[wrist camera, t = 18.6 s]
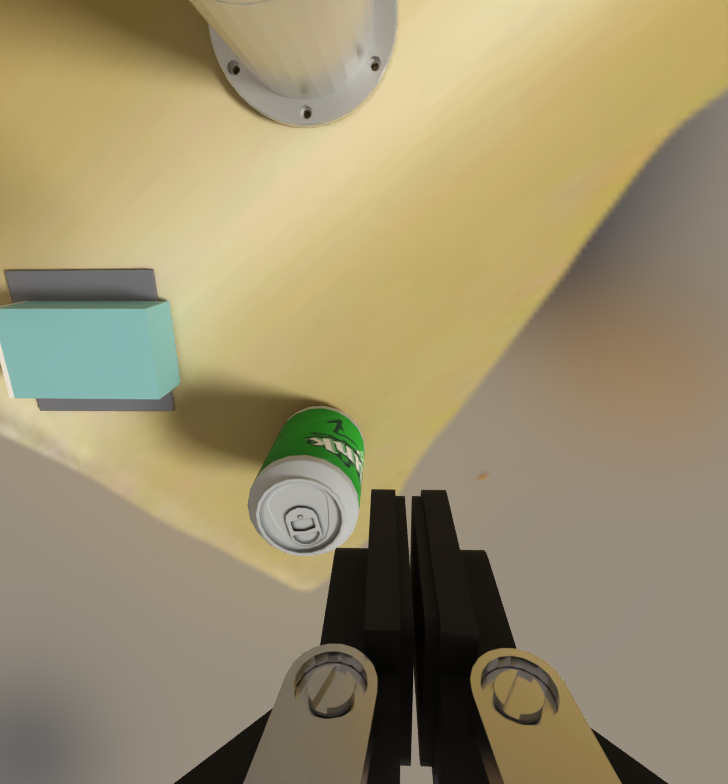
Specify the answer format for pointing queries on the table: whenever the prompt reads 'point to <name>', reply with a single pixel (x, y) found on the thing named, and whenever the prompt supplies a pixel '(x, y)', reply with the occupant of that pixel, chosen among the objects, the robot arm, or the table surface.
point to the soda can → (310, 483)
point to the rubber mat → (89, 289)
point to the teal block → (88, 349)
